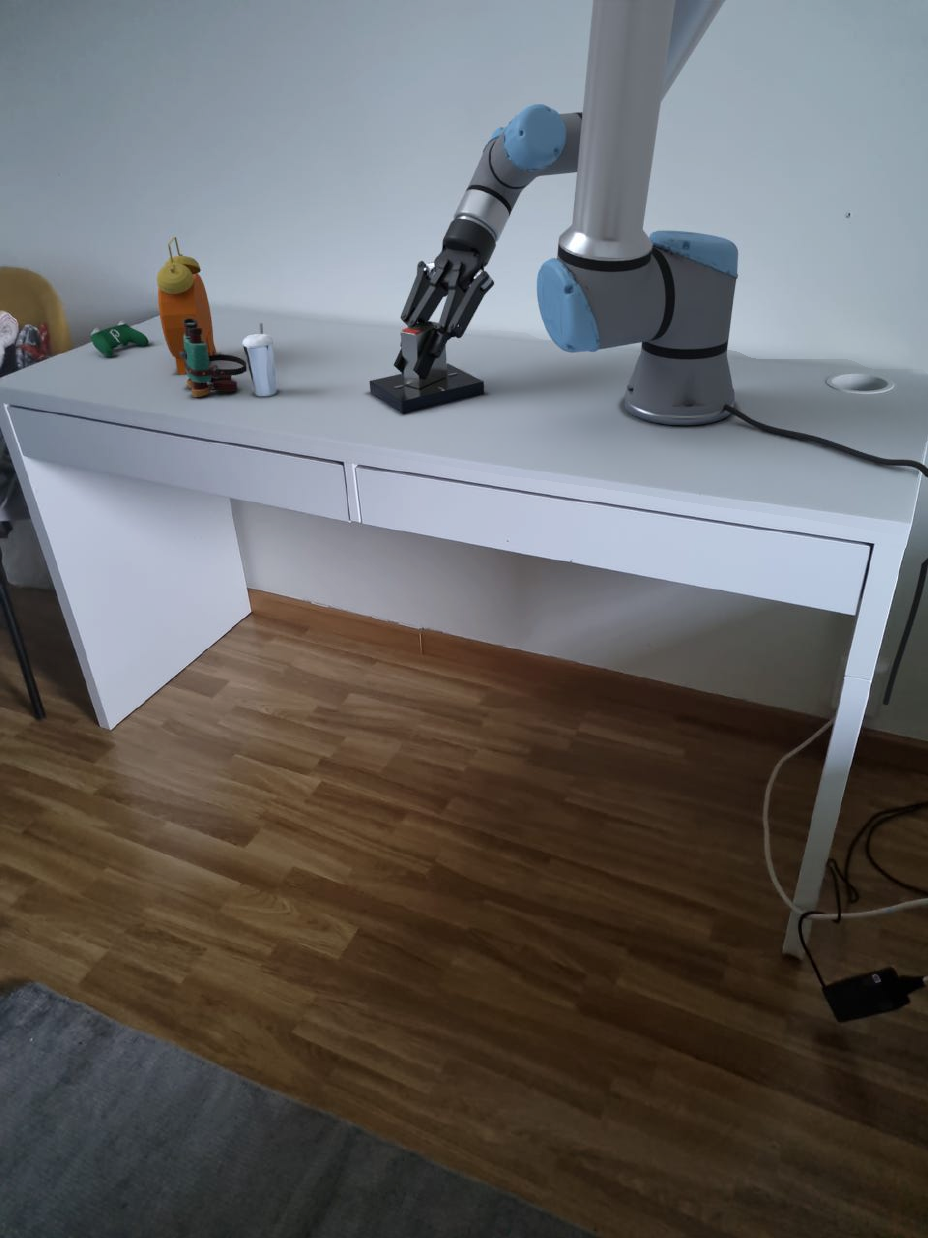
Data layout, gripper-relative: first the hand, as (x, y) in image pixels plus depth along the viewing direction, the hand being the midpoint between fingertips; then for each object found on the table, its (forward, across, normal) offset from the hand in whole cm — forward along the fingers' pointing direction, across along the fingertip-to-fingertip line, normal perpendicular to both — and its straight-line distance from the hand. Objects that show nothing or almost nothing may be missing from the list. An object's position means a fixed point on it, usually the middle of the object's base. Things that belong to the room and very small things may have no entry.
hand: (409, 372), depth 132 cm
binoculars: (+12, +30, +5) cm, 33 cm away
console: (+1, 0, -6) cm, 6 cm away
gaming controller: (+10, +63, +2) cm, 64 cm away
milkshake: (+10, +22, +3) cm, 24 cm away
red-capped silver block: (-1, 0, -4) cm, 4 cm away
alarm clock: (+8, +44, +1) cm, 45 cm away
